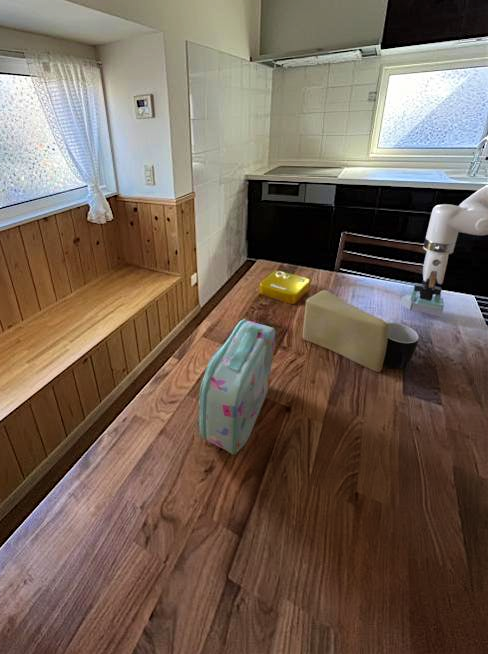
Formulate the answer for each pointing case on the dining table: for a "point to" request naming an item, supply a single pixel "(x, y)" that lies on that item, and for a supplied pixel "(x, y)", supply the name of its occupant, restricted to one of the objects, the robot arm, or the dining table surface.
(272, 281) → the element tile
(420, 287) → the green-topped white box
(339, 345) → the cheese
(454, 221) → the robot arm
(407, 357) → the mug
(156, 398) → the dining table surface
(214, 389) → the lunch box
